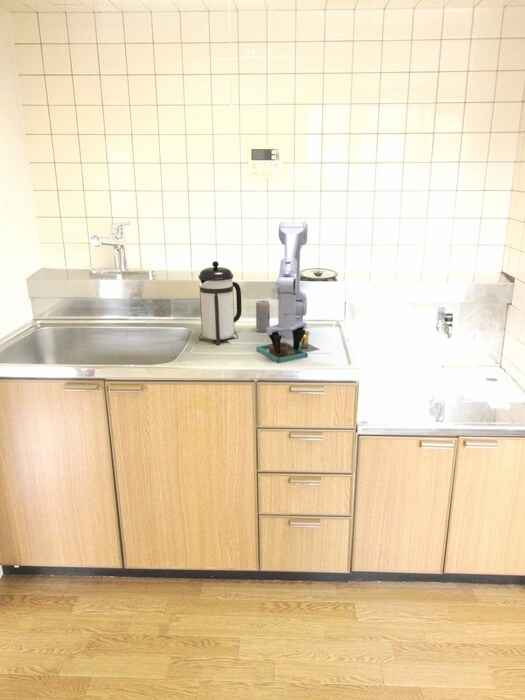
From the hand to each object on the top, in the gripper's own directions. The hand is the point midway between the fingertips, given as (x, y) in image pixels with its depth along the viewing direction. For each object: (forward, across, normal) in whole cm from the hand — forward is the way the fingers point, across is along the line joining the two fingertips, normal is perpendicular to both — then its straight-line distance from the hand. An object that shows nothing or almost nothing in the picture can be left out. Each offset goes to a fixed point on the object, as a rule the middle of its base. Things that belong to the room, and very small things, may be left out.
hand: (286, 351), depth 174 cm
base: (+3, +10, +4) cm, 11 cm away
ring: (+2, 0, +3) cm, 4 cm away
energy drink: (+3, +9, +34) cm, 35 cm away
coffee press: (+3, -10, +33) cm, 35 cm away
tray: (+3, 0, +4) cm, 5 cm away
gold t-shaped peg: (+3, +10, +4) cm, 11 cm away
